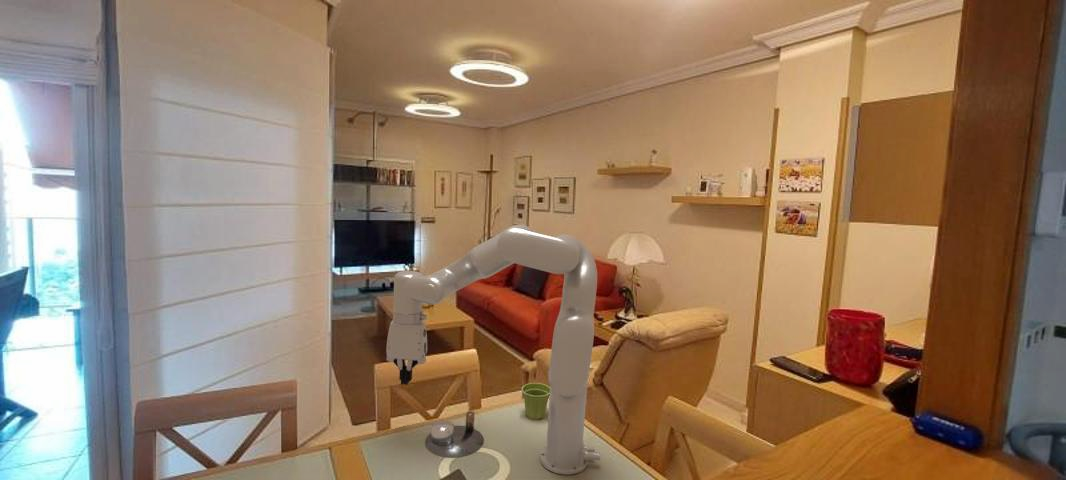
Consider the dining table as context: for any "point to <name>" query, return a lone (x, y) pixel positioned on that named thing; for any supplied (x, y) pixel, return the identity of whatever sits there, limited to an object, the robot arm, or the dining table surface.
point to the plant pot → (535, 399)
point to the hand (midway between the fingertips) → (405, 382)
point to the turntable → (459, 441)
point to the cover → (442, 432)
